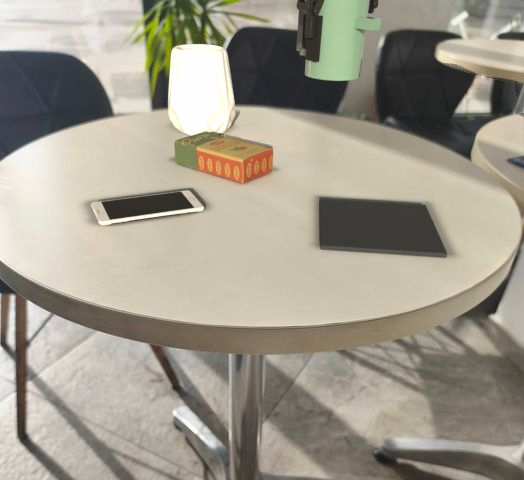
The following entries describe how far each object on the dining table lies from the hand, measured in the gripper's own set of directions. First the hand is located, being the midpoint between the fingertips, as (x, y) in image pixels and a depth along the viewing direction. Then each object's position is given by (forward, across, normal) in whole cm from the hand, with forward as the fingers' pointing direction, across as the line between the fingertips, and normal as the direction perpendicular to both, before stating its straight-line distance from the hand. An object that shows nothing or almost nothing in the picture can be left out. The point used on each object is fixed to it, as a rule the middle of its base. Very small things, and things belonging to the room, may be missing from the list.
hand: (333, 58), depth 88 cm
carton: (+16, +23, -2) cm, 28 cm away
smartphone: (+16, +43, +7) cm, 46 cm away
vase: (+16, +12, -25) cm, 32 cm away
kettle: (+3, 0, 0) cm, 3 cm away
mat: (+16, +20, +31) cm, 40 cm away
